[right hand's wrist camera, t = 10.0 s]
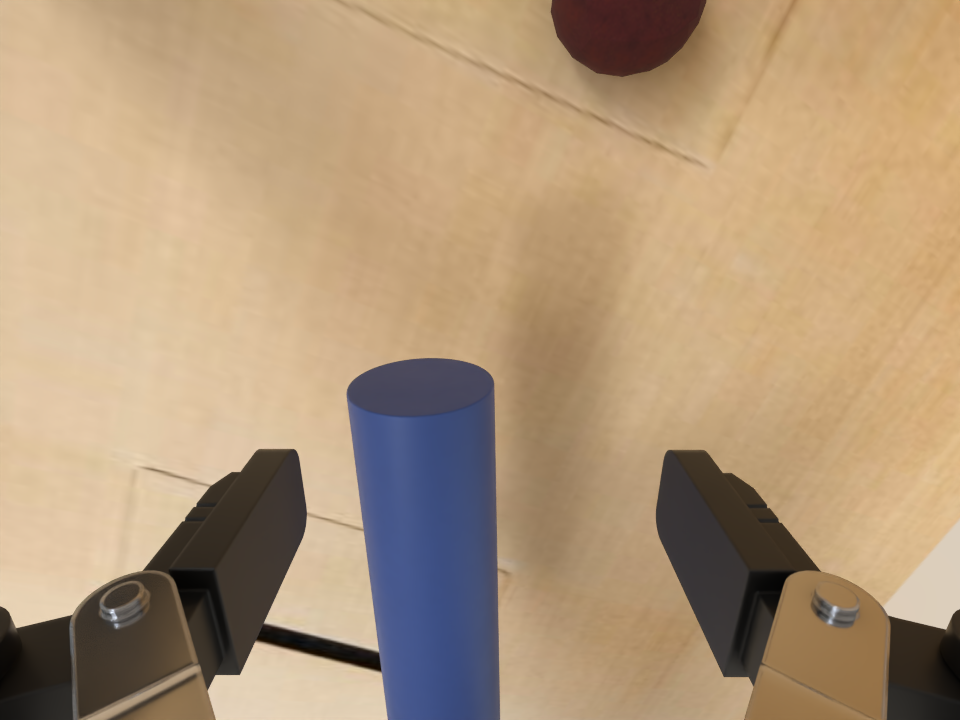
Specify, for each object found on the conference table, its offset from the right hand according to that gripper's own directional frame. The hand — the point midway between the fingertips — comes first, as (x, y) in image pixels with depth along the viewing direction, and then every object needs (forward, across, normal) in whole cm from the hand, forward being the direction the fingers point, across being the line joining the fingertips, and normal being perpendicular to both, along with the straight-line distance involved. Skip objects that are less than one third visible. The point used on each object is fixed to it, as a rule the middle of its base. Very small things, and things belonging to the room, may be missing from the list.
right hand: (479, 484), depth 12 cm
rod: (+13, +2, +16) cm, 21 cm away
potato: (+26, -8, -14) cm, 31 cm away
